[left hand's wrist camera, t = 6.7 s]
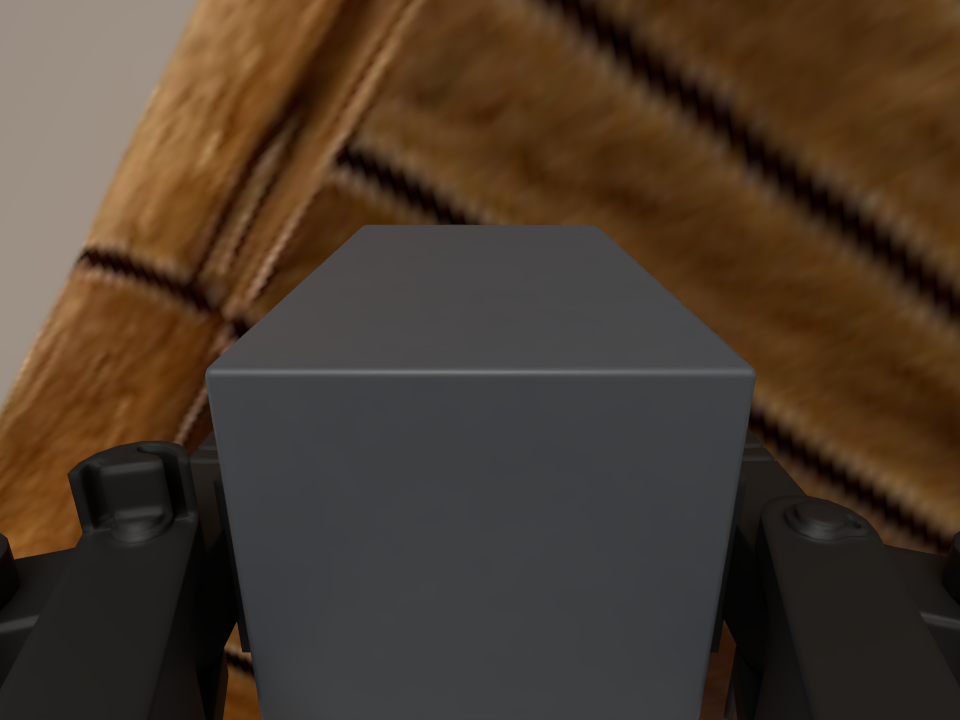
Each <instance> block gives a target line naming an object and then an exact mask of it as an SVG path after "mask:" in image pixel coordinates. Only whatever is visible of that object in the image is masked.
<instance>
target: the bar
mask: <svg viewBox="0 0 960 720" xmlns="http://www.w3.org/2000/svg"><path fill="white" fill-rule="evenodd" d="M205 378H206V384H207V391H208V397H209V403H210V409H211V415H212V421H213V427H214V433H215V439H216V445H217V451H218V457H219V463H220V469H221V475H222V481H223V487H224V493H225V500H226V506H227V512H228V518H229V524H230V530H231V536H232V542H233V548H234V554H235V560H236V566H237V572H238V578H239V584H240V590H241V596H242V602H243V609H244V615H245V621H246V627H247V633H248V639H249V645H250V651H251V657H252V663H253V669H254V675H255V681H256V687H257V693H258V699H259V705H260V711H261V718H262V720H699V716H700V710H701V704H702V698H703V692H704V686H705V680H706V674H707V668H708V662H709V656H710V650H711V644H712V638H713V632H714V626H715V620H716V613H717V607H718V601H719V595H720V589H721V583H722V577H723V571H724V565H725V559H726V553H727V547H728V541H729V535H730V529H731V523H732V517H733V511H734V505H735V499H736V493H737V487H738V481H739V475H740V469H741V463H742V457H743V451H744V445H745V439H746V433H747V427H748V421H749V415H750V409H751V403H752V397H753V391H754V385H755V378H756V374H755V370H754V368H753V367H752V366H751V365H749V364H748V363H747V362H746V361H745V360H744V359H743V358H742V357H741V356H740V355H738V354H737V353H736V352H735V351H734V350H733V349H732V348H731V347H730V346H729V345H727V344H726V343H725V342H724V341H723V340H722V339H721V338H720V337H719V336H718V335H716V334H715V333H714V332H713V331H712V330H711V329H710V328H709V327H708V326H707V325H705V324H704V323H703V322H702V321H701V320H700V319H699V318H698V317H697V316H696V315H694V314H693V313H692V312H691V311H690V310H689V309H688V308H687V307H686V306H685V305H683V304H682V303H681V302H680V301H679V300H678V299H677V298H676V297H675V296H674V295H672V294H671V293H670V292H669V291H668V290H667V289H666V288H665V287H664V286H662V285H661V284H660V283H659V282H658V281H657V280H656V279H655V278H654V277H653V276H651V275H650V274H649V273H648V272H647V271H646V270H645V269H644V268H643V267H642V266H640V265H639V264H638V263H637V262H636V261H635V260H634V259H633V258H632V257H631V256H629V255H628V254H627V253H626V252H625V251H624V250H623V249H622V248H621V247H620V246H618V245H617V244H616V243H615V242H614V241H613V240H612V239H611V238H610V237H609V236H607V235H606V234H605V233H604V232H603V231H602V230H601V229H600V228H599V227H598V226H595V225H365V226H363V227H362V228H361V229H359V230H358V231H357V232H356V233H355V234H354V235H353V236H352V237H351V238H350V239H349V240H347V241H346V242H345V243H344V244H343V245H342V246H341V247H340V248H339V249H338V250H336V251H335V252H334V253H333V254H332V255H331V256H330V257H329V258H328V259H327V260H325V261H324V262H323V263H322V264H321V265H320V266H319V267H318V268H317V269H316V270H315V271H313V272H312V273H311V274H310V275H309V276H308V277H307V278H306V279H305V280H304V281H302V282H301V283H300V284H299V285H298V286H297V287H296V288H295V289H294V290H293V291H292V292H290V293H289V294H288V295H287V296H286V297H285V298H284V299H283V300H282V301H281V302H279V303H278V304H277V305H276V306H275V307H274V308H273V309H272V310H271V311H270V312H268V313H267V314H266V315H265V316H264V317H263V318H262V319H261V320H260V321H259V322H258V323H256V324H255V325H254V326H253V327H252V328H251V329H250V330H249V331H248V332H247V333H245V334H244V335H243V336H242V337H241V338H240V339H239V340H238V341H237V342H236V343H235V344H233V345H232V346H231V347H230V348H229V349H228V350H227V351H226V352H225V353H224V354H222V355H221V356H220V357H219V358H218V359H217V360H216V361H215V362H214V363H213V364H211V365H210V366H209V367H208V368H207V370H206V374H205Z"/></svg>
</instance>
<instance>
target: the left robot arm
mask: <svg viewBox="0 0 960 720" xmlns="http://www.w3.org/2000/svg"><path fill="white" fill-rule="evenodd" d="M67 475H68V478H69V482H70V486H71V490H72V494H73V497H74V501H75V505H76V509H77V513H78V516H79V520H80V524H81V528H82V532H83V534H82V536H81V538H80V540H79V541H78V543H77V545H76V547H75V548H71V549H67V550H62V551H57V552H52V553H46V554H41V555H36V556H31V557H25V558H20V559H15V560H14V558H13V555H12V551H11V548H10V545H9V542H8V539H7V537H5V536H4V535H2V534H1V533H0V720H223V714H224V706H225V698H226V691H227V683H228V676H229V675H228V668H227V662H226V656H225V651H224V647H225V644H226V642H227V640H228V638H229V636H230V634H231V632H232V630H233V628H234V626H235V624H236V622H237V624H238V630H239V635H240V641H241V647H242V652H251V651H250V645H249V639H248V633H247V627H246V621H245V615H244V609H243V602H242V596H241V590H240V584H239V578H238V572H237V566H236V560H235V554H234V548H233V542H232V536H231V530H230V524H229V518H228V512H227V506H226V500H225V493H224V487H223V481H222V475H221V469H220V463H219V457H218V451H217V445H216V439H215V433H214V430H213V431H211V433H210V434H209V435H208V436H207V437H206V438H205V440H204V441H203V442H202V443H201V444H200V445H199V447H198V450H195V451H194V452H193V454H192V455H191V456H190V457H189V455H188V450H186V449H185V448H183V447H182V446H181V445H179V444H176V443H171V442H166V441H141V442H136V443H130V444H125V445H120V446H116V447H113V448H111V449H108V450H105V451H102V452H99V453H96V454H94V455H93V456H91V457H89V458H87V459H85V460H83V461H82V462H80V463H78V464H77V465H76V466H75V467H74V468H73V469H72V470H71V471H70V472H69V473H68V474H67ZM724 620H725V622H726V624H727V626H728V628H729V630H730V632H731V634H732V636H733V638H734V640H735V642H736V644H737V645H736V651H735V656H734V662H733V667H732V672H731V678H730V683H729V689H728V694H727V700H726V705H725V712H724V718H726V719H731V720H733V714H734V709H735V706H736V712H737V720H960V531H959V532H958V533H956V534H955V535H954V537H953V541H952V544H951V547H950V550H949V553H948V556H947V557H946V556H940V555H935V554H930V553H924V552H919V551H914V550H908V549H903V548H898V547H893V546H889V545H885V544H883V542H882V540H881V538H880V537H879V535H878V533H877V531H876V530H875V529H874V528H873V527H872V526H871V525H870V523H869V522H868V521H867V520H866V519H864V518H863V517H861V516H860V515H858V514H857V513H855V512H853V511H852V510H850V509H849V508H846V507H844V506H841V505H839V504H836V503H834V502H831V501H829V500H824V499H820V498H815V497H810V496H807V495H806V494H805V493H804V492H803V491H802V489H801V488H800V487H799V486H798V485H797V484H796V482H795V481H794V480H793V479H792V478H791V477H790V476H789V474H788V473H787V472H786V471H785V470H784V469H783V467H782V466H781V465H780V464H779V463H778V462H777V461H774V457H773V456H772V455H771V454H770V453H769V451H768V450H767V449H766V448H763V444H762V443H761V442H760V441H759V440H758V439H757V438H756V436H755V435H754V434H753V433H752V432H751V431H750V429H748V428H747V433H746V439H745V445H744V451H743V457H742V463H741V469H740V475H739V481H738V487H737V493H736V499H735V505H734V511H733V517H732V523H731V529H730V535H729V541H728V547H727V553H726V559H725V565H724V571H723V577H722V583H721V589H720V595H719V601H718V607H717V613H716V620H715V626H714V632H713V638H712V644H711V650H710V652H718V650H719V644H720V638H721V632H722V626H723V621H724Z"/></svg>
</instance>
